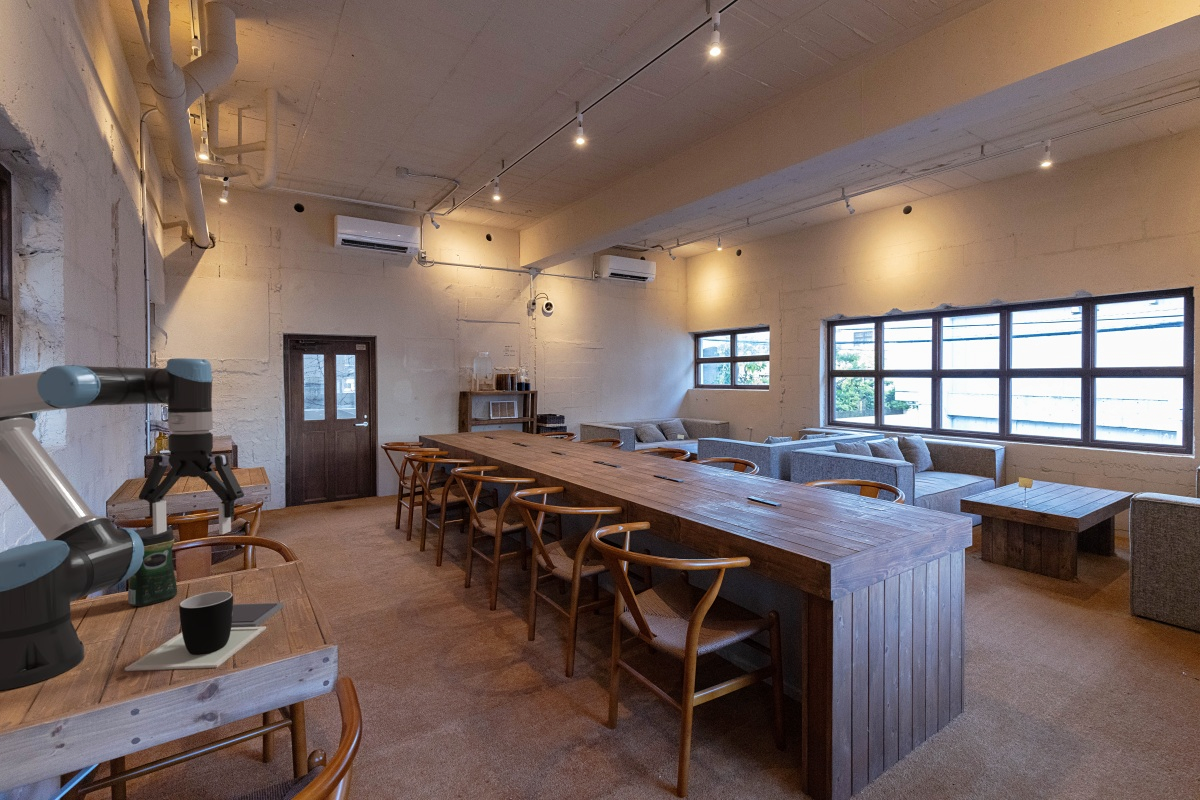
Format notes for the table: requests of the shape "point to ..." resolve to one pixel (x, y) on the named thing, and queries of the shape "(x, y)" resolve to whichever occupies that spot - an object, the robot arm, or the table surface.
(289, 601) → the table surface
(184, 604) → the mug
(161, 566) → the coffee jar
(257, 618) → the ink pad
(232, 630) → the marked square
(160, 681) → the table surface
